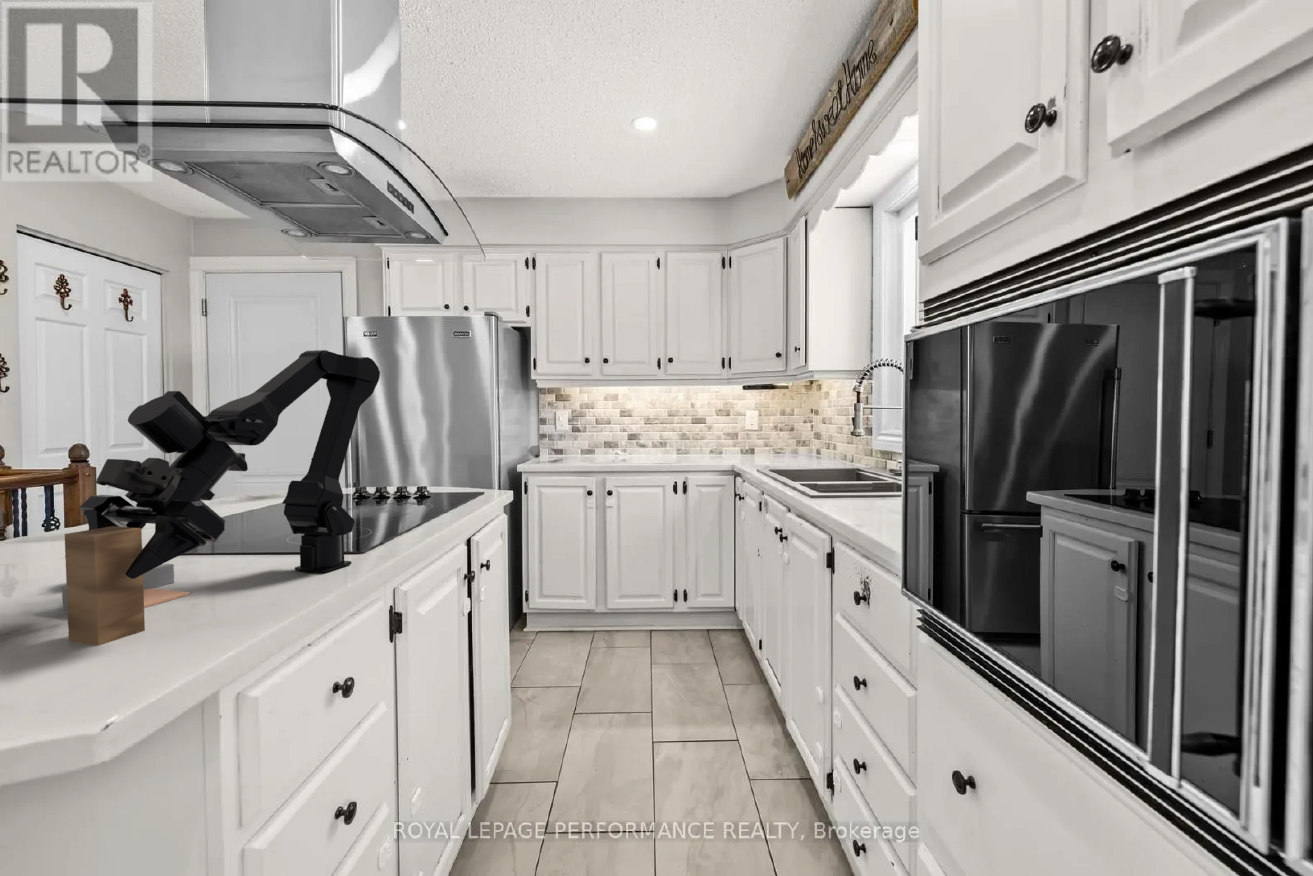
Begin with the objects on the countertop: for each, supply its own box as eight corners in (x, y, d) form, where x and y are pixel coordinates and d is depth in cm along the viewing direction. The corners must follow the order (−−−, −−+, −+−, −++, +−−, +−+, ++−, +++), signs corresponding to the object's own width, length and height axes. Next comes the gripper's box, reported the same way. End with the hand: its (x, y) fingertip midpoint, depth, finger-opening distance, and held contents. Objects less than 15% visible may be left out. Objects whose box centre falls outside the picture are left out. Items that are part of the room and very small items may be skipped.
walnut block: (116, 626, 76) (112, 526, 76) (144, 630, 75) (141, 528, 74) (68, 641, 71) (64, 533, 71) (98, 645, 70) (94, 536, 69)
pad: (150, 590, 91) (150, 588, 91) (189, 594, 89) (189, 592, 89) (89, 606, 84) (88, 604, 84) (130, 611, 82) (130, 609, 82)
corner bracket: (167, 581, 96) (166, 563, 96) (219, 587, 93) (218, 568, 93) (62, 608, 83) (61, 587, 83) (119, 616, 80) (118, 594, 80)
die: (114, 592, 92) (161, 538, 96) (66, 565, 92) (115, 512, 96) (147, 596, 100) (189, 546, 103) (102, 571, 100) (146, 521, 103)
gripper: (95, 435, 79) (-14, 531, 69) (201, 437, 74) (100, 541, 64) (160, 487, 87) (70, 581, 77) (259, 492, 82) (177, 593, 72)
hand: (101, 574), depth 72 cm, fingers open, 9 cm apart
